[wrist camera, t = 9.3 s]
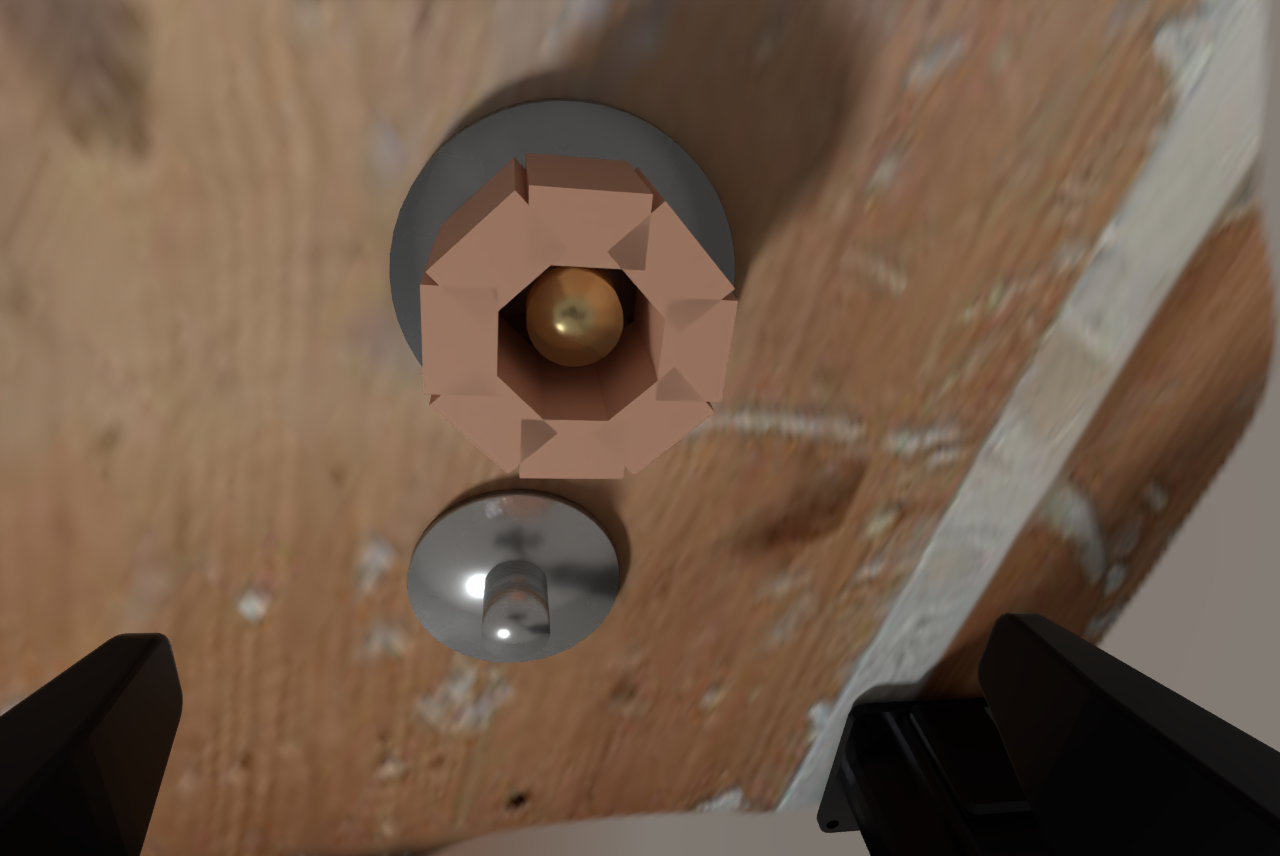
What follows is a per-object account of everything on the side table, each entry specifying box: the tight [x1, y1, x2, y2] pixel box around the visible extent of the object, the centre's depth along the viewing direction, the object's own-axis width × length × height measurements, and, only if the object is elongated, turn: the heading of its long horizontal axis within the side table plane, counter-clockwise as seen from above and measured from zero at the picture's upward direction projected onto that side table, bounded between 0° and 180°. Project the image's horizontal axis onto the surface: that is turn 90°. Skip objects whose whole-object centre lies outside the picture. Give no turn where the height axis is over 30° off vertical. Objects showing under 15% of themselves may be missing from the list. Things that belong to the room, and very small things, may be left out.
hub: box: [390, 98, 735, 367], centre depth 17 cm, size 8×8×3 cm
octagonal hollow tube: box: [420, 153, 738, 479], centre depth 17 cm, size 6×6×4 cm
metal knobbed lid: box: [407, 489, 619, 662], centre depth 21 cm, size 6×6×2 cm
